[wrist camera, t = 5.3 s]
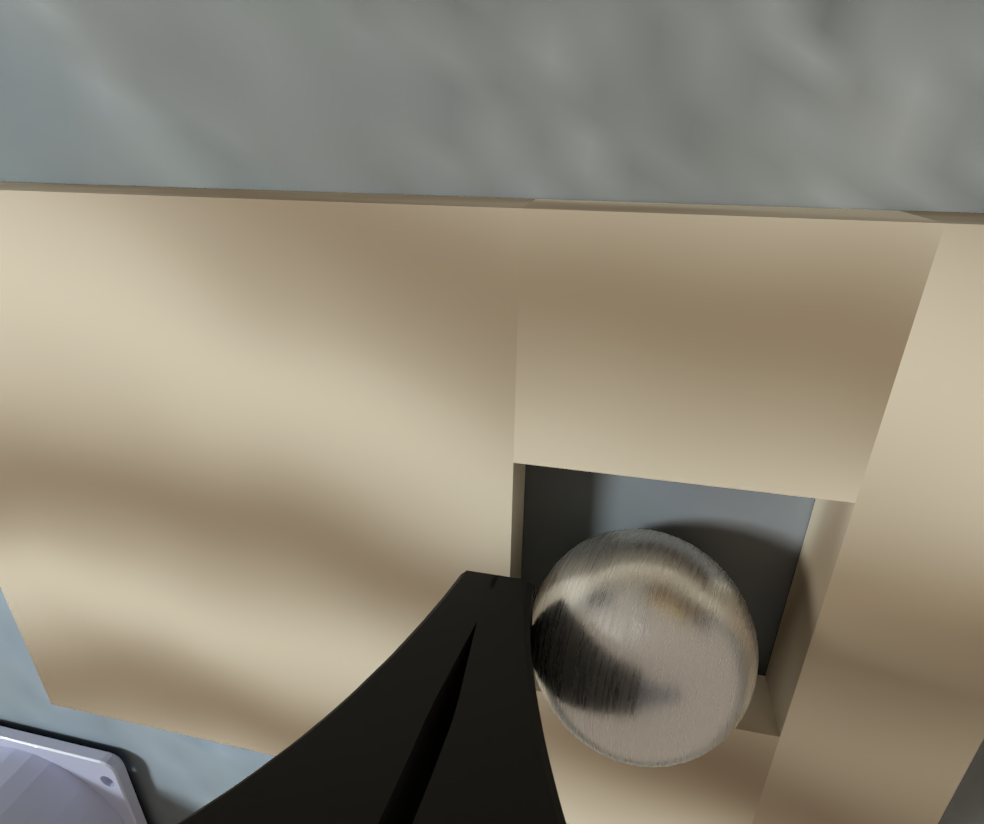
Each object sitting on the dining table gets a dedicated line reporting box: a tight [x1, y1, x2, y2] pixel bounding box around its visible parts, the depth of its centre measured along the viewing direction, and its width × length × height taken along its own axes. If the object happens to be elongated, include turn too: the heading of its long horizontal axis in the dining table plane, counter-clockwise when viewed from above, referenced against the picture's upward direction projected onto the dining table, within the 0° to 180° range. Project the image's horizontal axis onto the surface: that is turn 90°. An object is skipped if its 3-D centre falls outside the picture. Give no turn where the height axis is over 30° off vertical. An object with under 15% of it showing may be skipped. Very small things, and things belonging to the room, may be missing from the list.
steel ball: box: [531, 528, 758, 767], centre depth 11 cm, size 4×4×4 cm
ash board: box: [0, 182, 984, 824], centre depth 13 cm, size 14×22×2 cm, turn 89°
